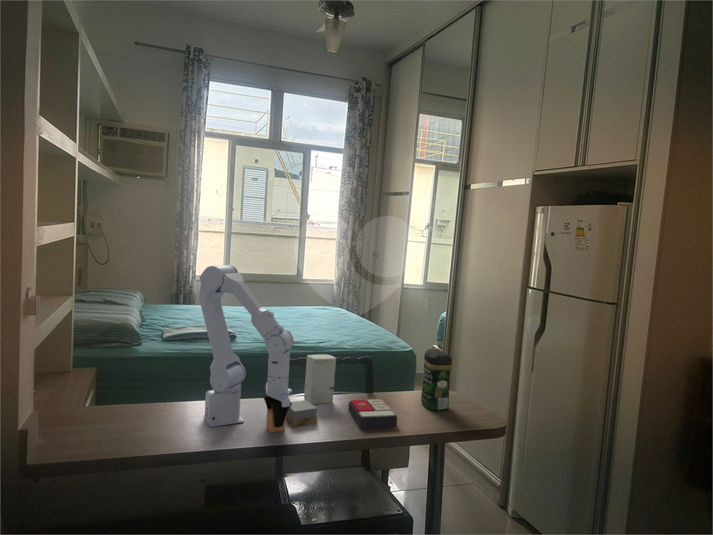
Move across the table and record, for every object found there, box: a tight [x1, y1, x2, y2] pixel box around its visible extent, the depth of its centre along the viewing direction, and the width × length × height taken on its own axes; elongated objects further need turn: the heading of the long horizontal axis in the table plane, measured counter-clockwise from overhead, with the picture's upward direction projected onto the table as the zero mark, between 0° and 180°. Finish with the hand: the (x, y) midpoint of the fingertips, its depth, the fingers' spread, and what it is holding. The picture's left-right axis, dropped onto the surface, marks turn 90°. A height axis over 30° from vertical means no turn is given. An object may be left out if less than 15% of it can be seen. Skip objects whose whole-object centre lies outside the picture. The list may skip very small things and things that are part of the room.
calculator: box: [347, 398, 398, 430], centre depth 143 cm, size 11×4×15 cm
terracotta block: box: [265, 408, 287, 433], centre depth 131 cm, size 4×4×5 cm
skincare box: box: [303, 354, 337, 406], centre depth 154 cm, size 8×6×15 cm
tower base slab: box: [286, 414, 318, 428], centre depth 137 cm, size 7×7×2 cm
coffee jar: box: [420, 348, 453, 412], centre depth 155 cm, size 10×8×19 cm
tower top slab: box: [287, 399, 318, 420], centre depth 137 cm, size 7×7×2 cm
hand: (275, 423), depth 131 cm, fingers closed on terracotta block, 4 cm apart
